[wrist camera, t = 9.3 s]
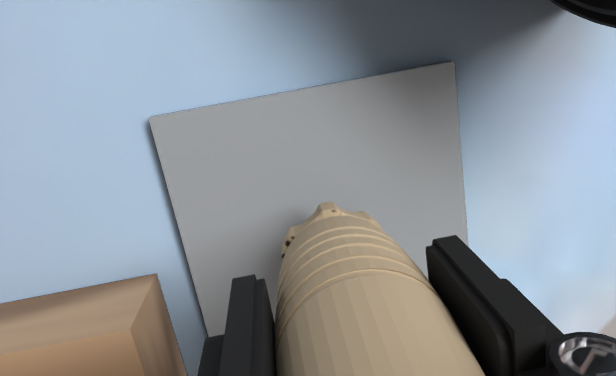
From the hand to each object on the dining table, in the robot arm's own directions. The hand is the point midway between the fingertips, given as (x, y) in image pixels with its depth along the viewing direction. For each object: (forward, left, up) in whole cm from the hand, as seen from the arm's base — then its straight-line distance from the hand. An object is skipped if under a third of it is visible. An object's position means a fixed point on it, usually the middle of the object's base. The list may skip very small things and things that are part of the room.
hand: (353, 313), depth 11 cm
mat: (0, 0, -6) cm, 6 cm away
